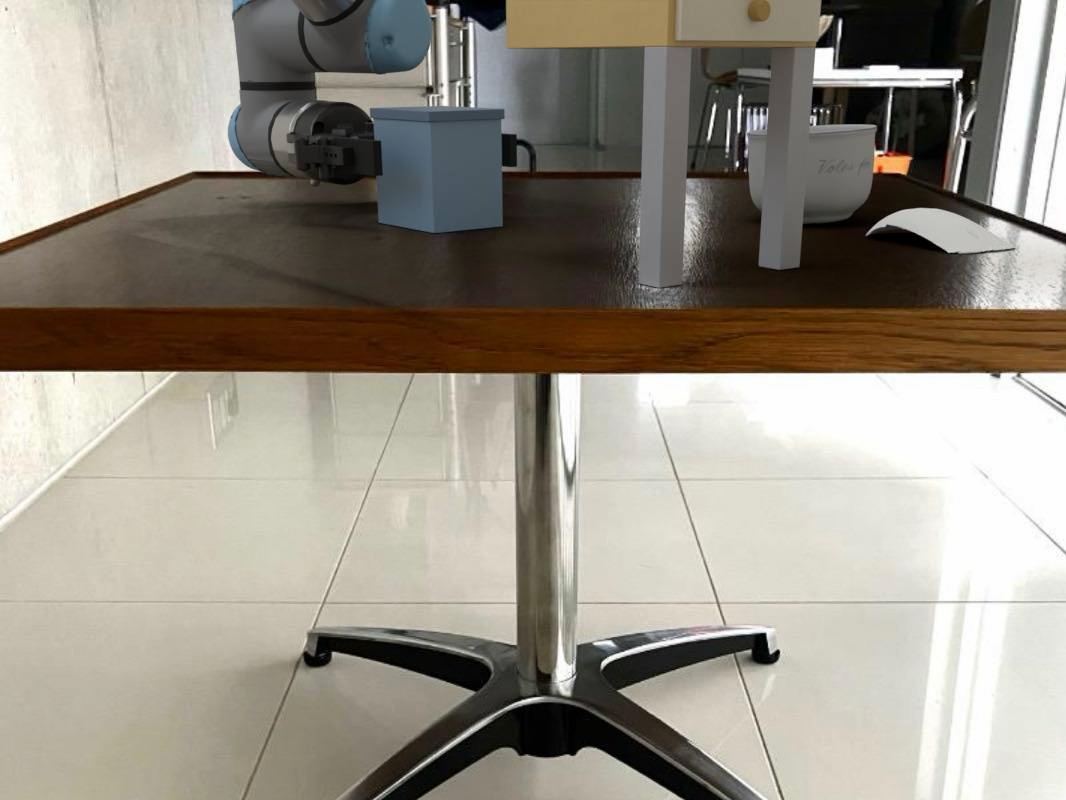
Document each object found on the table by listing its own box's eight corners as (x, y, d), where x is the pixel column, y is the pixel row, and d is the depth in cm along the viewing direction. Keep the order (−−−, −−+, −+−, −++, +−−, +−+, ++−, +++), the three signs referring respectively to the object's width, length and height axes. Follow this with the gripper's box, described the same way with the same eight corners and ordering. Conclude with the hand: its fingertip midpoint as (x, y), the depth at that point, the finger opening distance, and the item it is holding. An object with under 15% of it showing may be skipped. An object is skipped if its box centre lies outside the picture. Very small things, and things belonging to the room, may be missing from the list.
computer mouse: (957, 254, 88) (961, 221, 87) (850, 235, 98) (853, 205, 98) (1026, 248, 91) (1031, 216, 90) (915, 230, 101) (918, 201, 100)
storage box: (375, 222, 107) (369, 107, 104) (446, 216, 111) (442, 105, 108) (433, 234, 100) (429, 111, 97) (506, 226, 104) (504, 108, 101)
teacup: (831, 232, 100) (839, 129, 97) (718, 222, 106) (723, 125, 103) (905, 216, 110) (915, 122, 107) (798, 208, 116) (805, 119, 113)
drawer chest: (508, 257, 88) (504, -83, 80) (643, 241, 95) (652, -72, 87) (674, 291, 75) (689, -111, 67) (815, 270, 82) (844, -95, 74)
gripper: (436, 175, 126) (564, 191, 111) (208, 190, 112) (318, 211, 97) (433, 98, 124) (564, 103, 108) (200, 104, 110) (311, 111, 94)
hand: (448, 154), depth 102 cm, fingers open, 13 cm apart
